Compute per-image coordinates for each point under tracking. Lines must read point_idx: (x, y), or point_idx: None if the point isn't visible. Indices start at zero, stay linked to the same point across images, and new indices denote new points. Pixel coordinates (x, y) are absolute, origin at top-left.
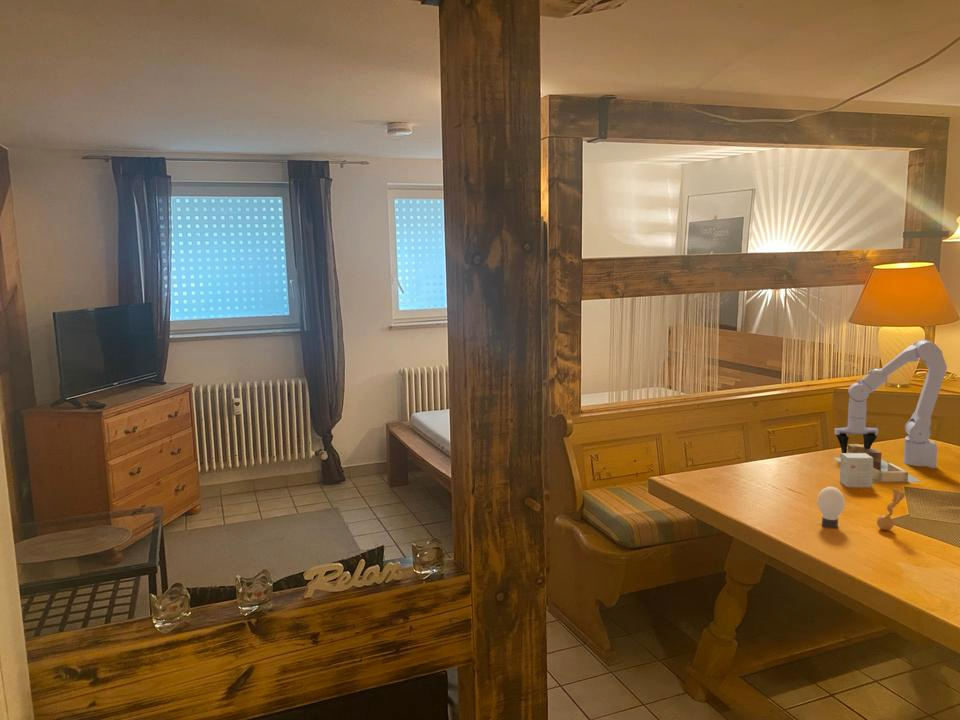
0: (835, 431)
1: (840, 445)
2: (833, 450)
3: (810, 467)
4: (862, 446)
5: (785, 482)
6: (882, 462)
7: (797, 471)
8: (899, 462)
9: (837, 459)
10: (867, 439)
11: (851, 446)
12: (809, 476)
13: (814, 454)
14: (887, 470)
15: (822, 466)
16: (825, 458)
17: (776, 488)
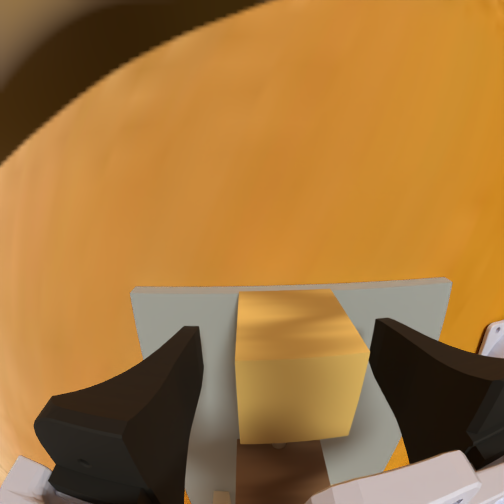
0: (24, 498)
1: (150, 355)
2: (249, 15)
3: (28, 391)
4: (342, 425)
5: (8, 460)
6: None
7: (5, 413)
8: (490, 323)
9: (149, 336)
10: (423, 445)
11: (239, 425)
12: (41, 455)
13: (61, 141)
14: (330, 476)
15: (67, 391)
16: (97, 247)
17: (6, 472)
